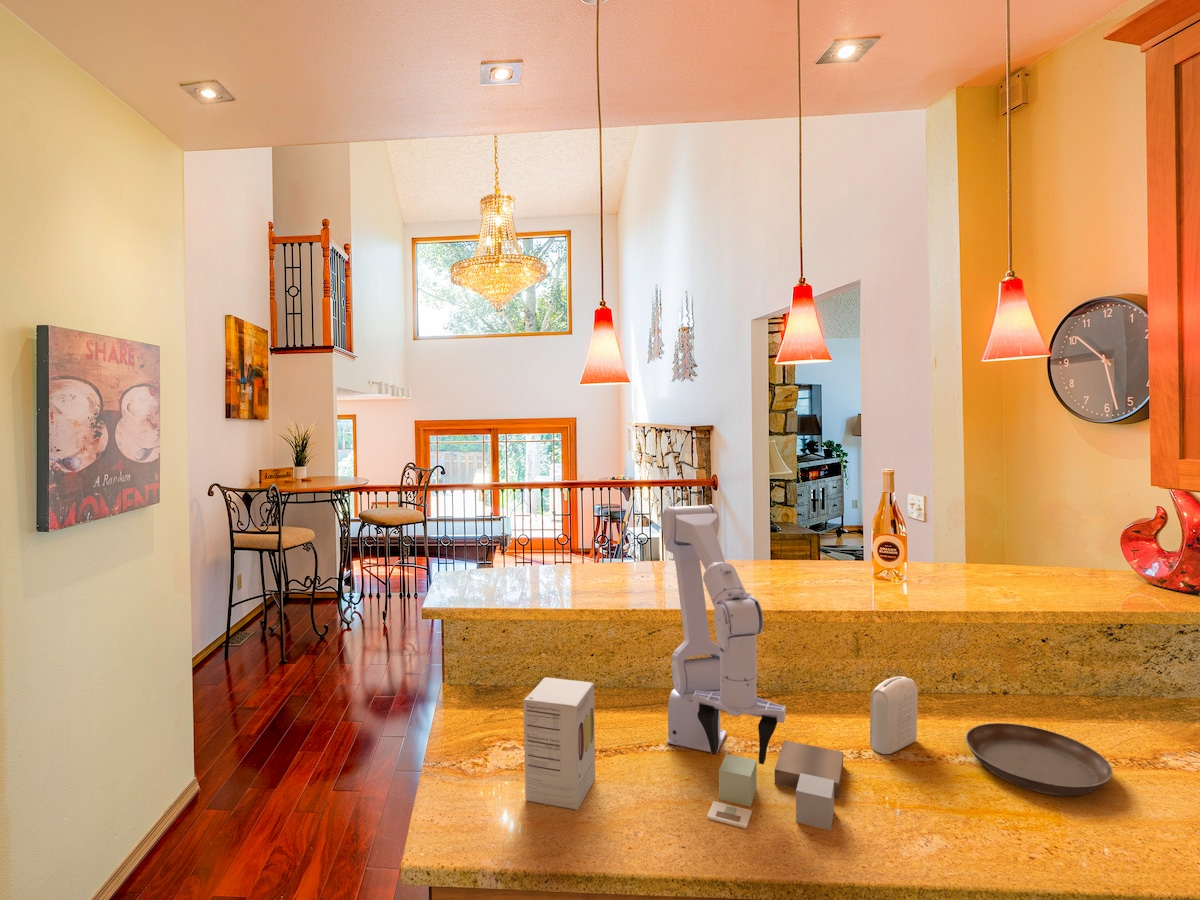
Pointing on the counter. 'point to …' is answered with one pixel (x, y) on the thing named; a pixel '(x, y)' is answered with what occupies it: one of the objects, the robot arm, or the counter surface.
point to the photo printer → (893, 715)
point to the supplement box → (559, 742)
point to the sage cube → (738, 780)
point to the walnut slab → (808, 764)
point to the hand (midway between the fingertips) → (738, 755)
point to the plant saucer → (1038, 759)
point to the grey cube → (815, 801)
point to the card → (729, 814)
